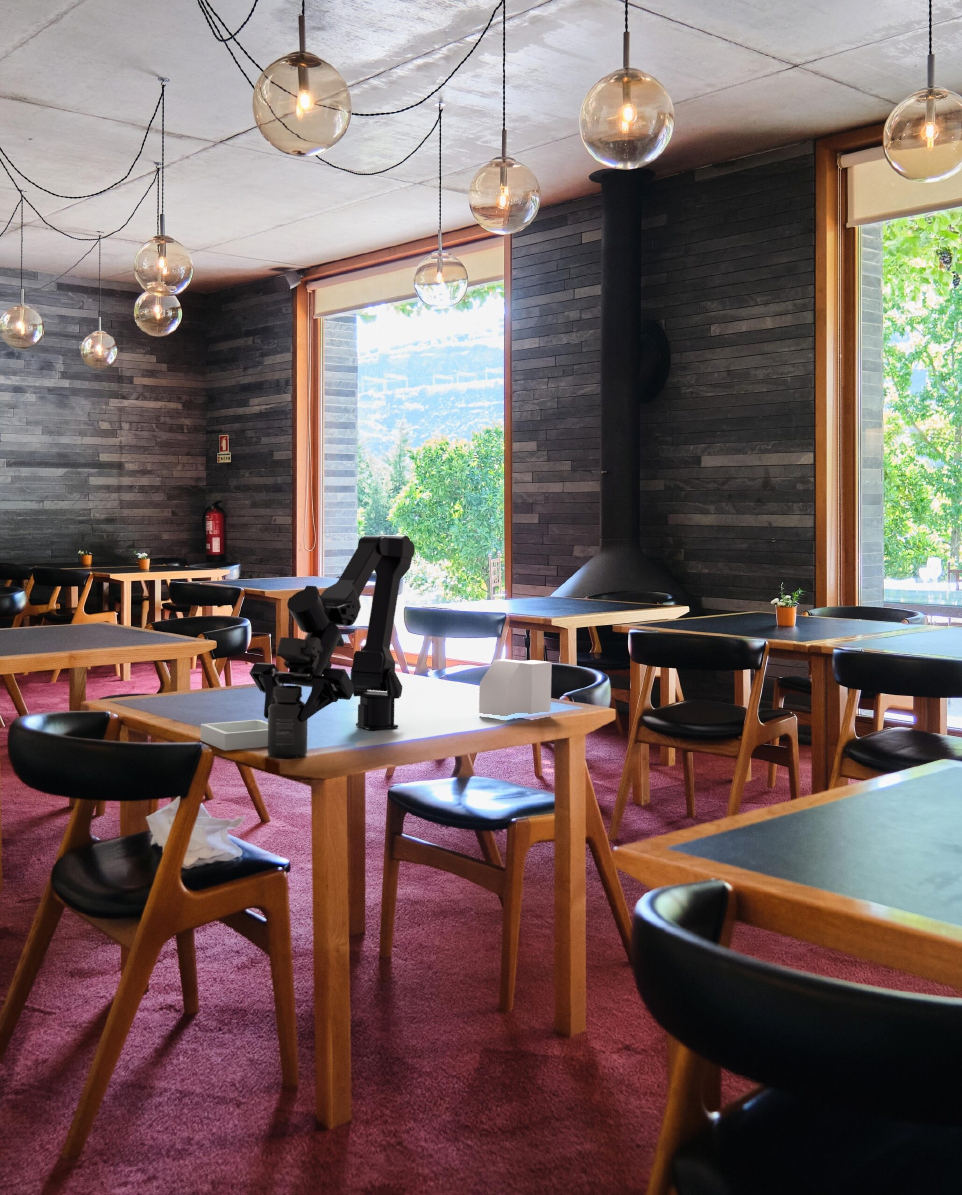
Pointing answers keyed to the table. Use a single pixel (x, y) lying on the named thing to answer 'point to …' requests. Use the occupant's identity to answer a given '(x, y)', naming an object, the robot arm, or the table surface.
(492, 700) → the white chamfered block
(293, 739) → the supplement bottle
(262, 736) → the tray
